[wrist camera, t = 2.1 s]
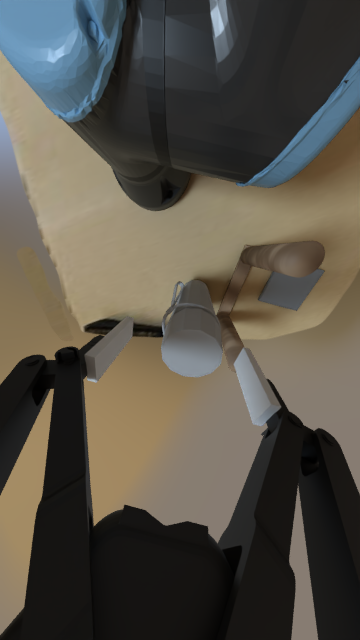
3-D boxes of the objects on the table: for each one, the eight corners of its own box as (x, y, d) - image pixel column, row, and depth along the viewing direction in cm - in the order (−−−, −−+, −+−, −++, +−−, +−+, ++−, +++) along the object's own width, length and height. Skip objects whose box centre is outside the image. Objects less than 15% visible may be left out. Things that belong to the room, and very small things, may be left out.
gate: (243, 244, 30) (299, 236, 14) (259, 249, 30) (333, 246, 14) (213, 319, 39) (225, 369, 23) (225, 323, 39) (245, 375, 23)
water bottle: (215, 292, 36) (244, 358, 14) (193, 311, 39) (188, 389, 17) (191, 266, 34) (179, 294, 11) (170, 288, 37) (128, 343, 15)
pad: (279, 258, 31) (281, 259, 30) (322, 270, 31) (324, 270, 30) (257, 299, 35) (259, 300, 35) (294, 309, 35) (296, 310, 35)
